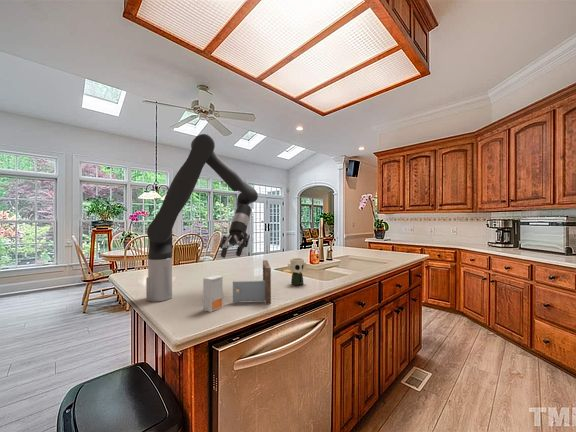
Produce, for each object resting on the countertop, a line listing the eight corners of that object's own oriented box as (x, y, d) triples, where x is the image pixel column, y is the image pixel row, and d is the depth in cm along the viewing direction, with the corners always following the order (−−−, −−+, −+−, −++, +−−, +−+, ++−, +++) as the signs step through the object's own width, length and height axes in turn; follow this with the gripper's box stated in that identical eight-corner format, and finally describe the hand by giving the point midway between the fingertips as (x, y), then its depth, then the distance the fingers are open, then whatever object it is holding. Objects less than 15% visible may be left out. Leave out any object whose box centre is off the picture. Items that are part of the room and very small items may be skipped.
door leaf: (266, 302, 103) (266, 282, 103) (232, 303, 102) (232, 282, 102) (266, 300, 106) (266, 280, 106) (233, 301, 105) (233, 281, 105)
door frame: (265, 303, 103) (265, 268, 103) (263, 290, 121) (262, 260, 121) (270, 303, 103) (270, 267, 103) (267, 290, 122) (267, 260, 122)
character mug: (291, 287, 126) (291, 260, 126) (284, 284, 133) (284, 258, 133) (310, 284, 132) (309, 259, 132) (302, 281, 138) (302, 257, 138)
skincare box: (210, 312, 94) (210, 279, 94) (202, 310, 96) (202, 278, 96) (223, 307, 99) (223, 276, 99) (215, 305, 101) (215, 274, 101)
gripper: (222, 222, 122) (212, 254, 113) (246, 218, 115) (237, 251, 106) (232, 230, 127) (223, 261, 118) (256, 226, 120) (248, 259, 111)
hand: (230, 256), depth 112 cm, fingers open, 8 cm apart
